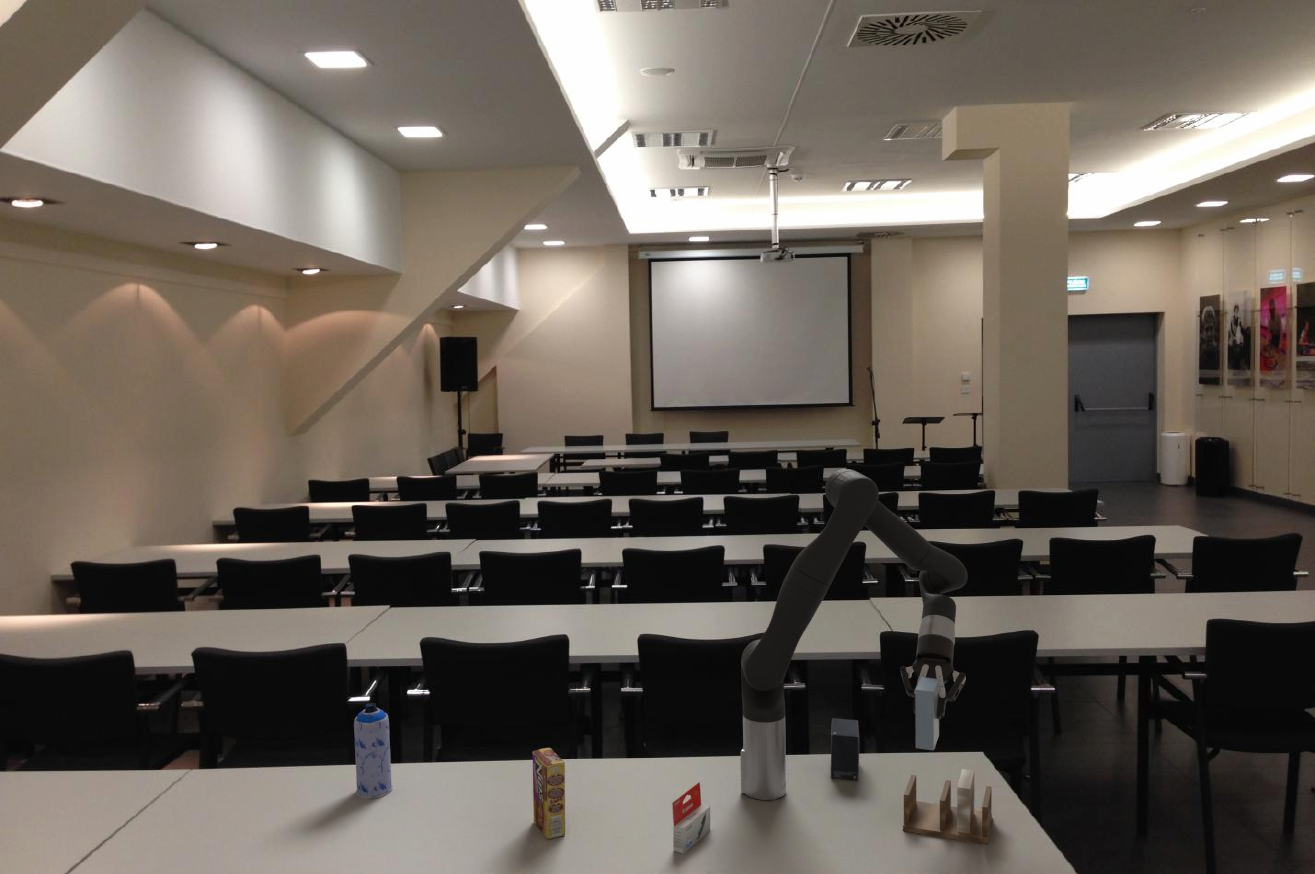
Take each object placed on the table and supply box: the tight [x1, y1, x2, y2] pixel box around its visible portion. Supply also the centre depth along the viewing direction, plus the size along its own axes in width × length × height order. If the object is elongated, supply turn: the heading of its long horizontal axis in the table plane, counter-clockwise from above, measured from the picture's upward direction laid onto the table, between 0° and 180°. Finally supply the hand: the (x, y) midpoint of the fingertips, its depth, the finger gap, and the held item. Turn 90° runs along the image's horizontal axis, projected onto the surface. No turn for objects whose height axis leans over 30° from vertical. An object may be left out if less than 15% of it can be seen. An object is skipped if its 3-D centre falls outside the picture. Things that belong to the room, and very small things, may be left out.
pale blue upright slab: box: [915, 677, 940, 751], centre depth 194 cm, size 4×8×12 cm, turn 156°
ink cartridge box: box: [671, 781, 711, 854], centre depth 189 cm, size 2×11×10 cm, turn 148°
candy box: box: [532, 747, 566, 840], centre depth 195 cm, size 9×4×15 cm, turn 26°
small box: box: [830, 717, 860, 781], centre depth 220 cm, size 11×6×10 cm, turn 169°
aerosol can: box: [353, 702, 393, 800], centre depth 214 cm, size 8×8×20 cm
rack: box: [902, 768, 993, 846], centre depth 193 cm, size 16×12×10 cm
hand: (928, 716), depth 195 cm, fingers closed on pale blue upright slab, 3 cm apart
